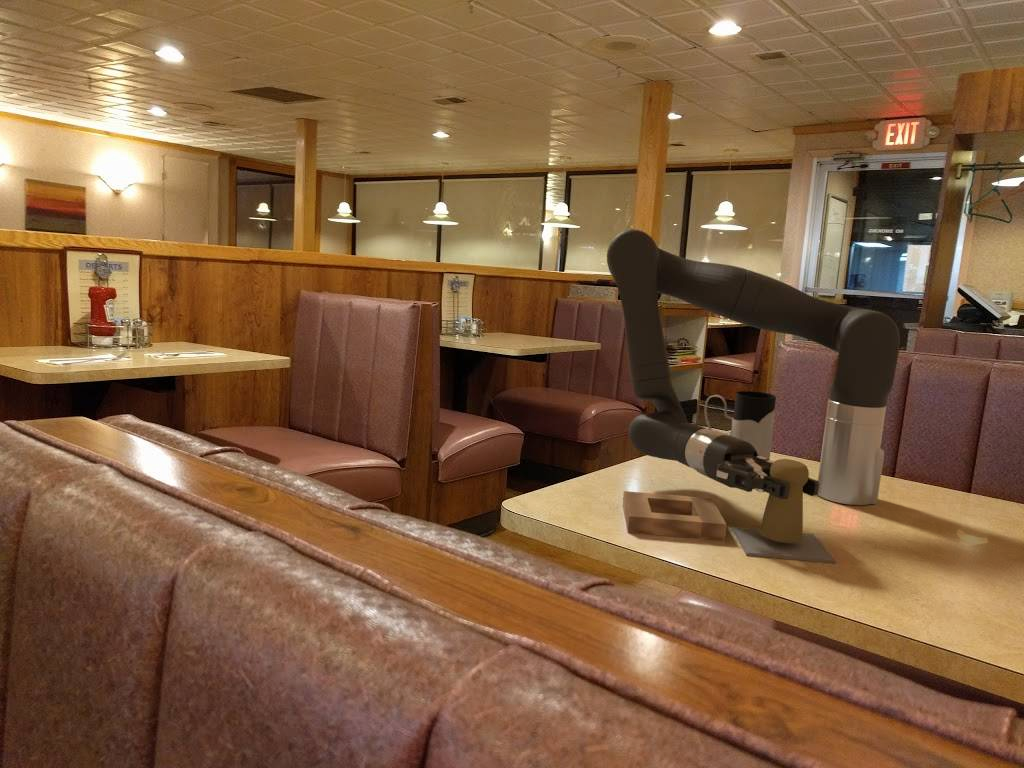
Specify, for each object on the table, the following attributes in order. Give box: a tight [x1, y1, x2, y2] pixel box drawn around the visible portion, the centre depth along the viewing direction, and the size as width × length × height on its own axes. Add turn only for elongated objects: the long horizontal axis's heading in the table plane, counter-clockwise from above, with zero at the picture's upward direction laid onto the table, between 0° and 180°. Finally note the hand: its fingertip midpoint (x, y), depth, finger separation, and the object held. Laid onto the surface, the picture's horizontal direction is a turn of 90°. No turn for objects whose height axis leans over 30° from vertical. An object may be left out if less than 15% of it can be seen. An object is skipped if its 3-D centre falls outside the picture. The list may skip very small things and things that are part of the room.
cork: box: [759, 458, 810, 543], centre depth 108 cm, size 6×6×11 cm
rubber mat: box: [731, 526, 837, 564], centre depth 109 cm, size 12×10×1 cm
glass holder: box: [704, 390, 777, 460], centre depth 150 cm, size 9×14×15 cm, turn 57°
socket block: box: [622, 490, 727, 542], centre depth 116 cm, size 14×12×2 cm
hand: (801, 490), depth 105 cm, fingers closed on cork, 5 cm apart
